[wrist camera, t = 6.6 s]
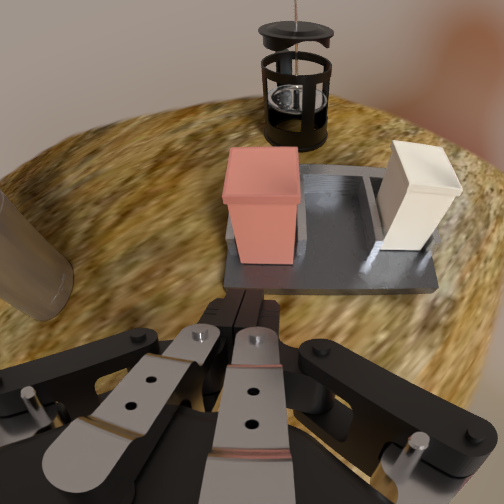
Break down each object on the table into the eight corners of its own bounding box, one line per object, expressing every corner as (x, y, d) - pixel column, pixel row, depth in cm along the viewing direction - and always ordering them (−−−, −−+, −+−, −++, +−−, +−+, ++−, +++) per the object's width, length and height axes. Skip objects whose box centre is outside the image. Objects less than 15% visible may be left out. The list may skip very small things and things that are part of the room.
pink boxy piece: (294, 265, 28) (300, 196, 20) (238, 265, 29) (222, 196, 20) (294, 220, 31) (297, 146, 22) (243, 220, 32) (230, 147, 23)
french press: (339, 150, 39) (356, -7, 19) (276, 161, 38) (267, -9, 19) (309, 108, 45) (311, -20, 25) (255, 116, 44) (241, -18, 25)
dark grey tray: (432, 293, 27) (451, 274, 23) (225, 293, 29) (217, 272, 25) (407, 193, 34) (417, 168, 30) (238, 187, 36) (233, 161, 32)
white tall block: (422, 251, 28) (462, 190, 19) (377, 251, 28) (409, 183, 20) (411, 211, 30) (442, 147, 22) (369, 209, 31) (392, 140, 22)
